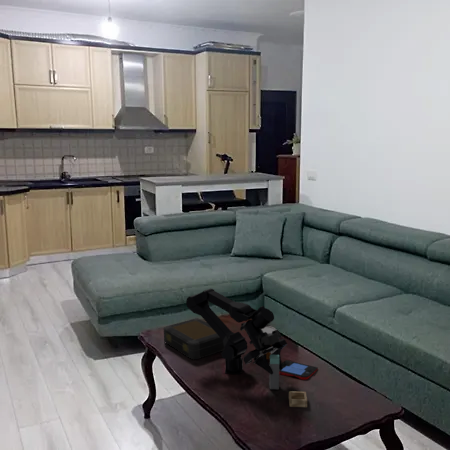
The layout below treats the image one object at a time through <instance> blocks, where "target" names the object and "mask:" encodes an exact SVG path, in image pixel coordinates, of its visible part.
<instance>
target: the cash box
mask: <svg viewBox="0 0 450 450" xmlns="http://www.w3.org/2000/svg"><path fill="white" fill-rule="evenodd" d="M163 342H164V343H165V342H166V343H167V344H169V345H170V346H172V347H174V348H175V349H177V350H178V351H177V350H176V351H177V352H179V351H180V352H182V353H183V354H184V356H185V355H186V356H185V357H187V358H188V357H189V358H188V359H190V358H191V359H190V360H192V359H196V360H199V359H201V357H202V358H205V357H208V356H211V355H214V354H217V353H221V352H223V351H224V350H225V348H224V344H223V340H222V339H221V338H220V337H219V336H218V334H217V333H216V332H215V331H214V330H213V329H212V328H211V327H210V325H209V324H208V323H207V322H206V321H205V320H204V319H203V320H202V319H200V318H196V317H195V318H193V319H188V320H185V321H181V322H178V323H174V324H171V325H170V324H169V325H167V326H165V327H163ZM166 343H165V344H166ZM167 344H166V345H167ZM169 345H168V346H169ZM170 346H169V347H170ZM172 347H171V348H172ZM174 348H173V349H174ZM175 349H174V350H175ZM180 352H179V353H180ZM182 353H181V354H182ZM183 354H182V355H183ZM204 356H205V357H204Z"/></svg>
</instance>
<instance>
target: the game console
mask: <svg viewBox="0 0 450 450" xmlns="http://www.w3.org/2000/svg"><path fill="white" fill-rule="evenodd" d="M282 367H283V369H282V370H280V369H279V376H288V377H294V378H295V377H296V378H298V379H299V380H303V381H304V380H305V381H306V380H308V379H309V378H311V377H312V376H313V375H314V374H315V373H316V372H317V371H318V370H319V369H318V368H319V367H317V366H312V365H309V364H304V363H300V362H297V361H296V362H295V361H292V360H287V359H285V360H284V361H283V362H282Z"/></svg>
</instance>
